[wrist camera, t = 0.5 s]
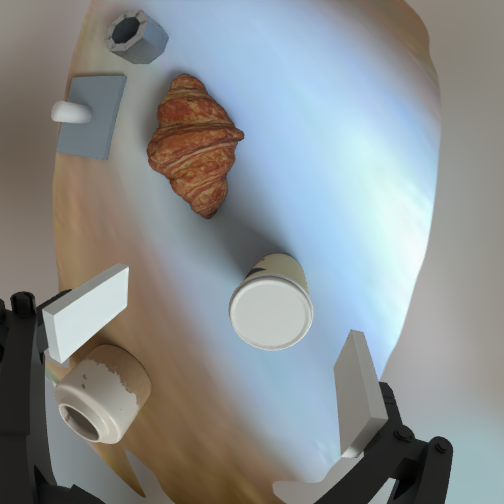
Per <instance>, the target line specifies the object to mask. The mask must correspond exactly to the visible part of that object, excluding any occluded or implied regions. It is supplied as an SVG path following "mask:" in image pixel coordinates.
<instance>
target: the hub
mask: <svg viewBox="0 0 504 504" xmlns="http://www.w3.org/2000/svg"><path fill="white" fill-rule="evenodd" d="M168 38H169V37H168V36H167V34H166V33H165V31H164V30H163V29H162V27H161V26H160V25H158V24H157V23H156V22H155V21H154V20H153V19H152V18H150V17H149V16H148V15H147V14H146V13H145V12H143V11H142V10H136V11H127V12H124V13H123V14H122V15H121V16H119V17H118V18H117V19H116V20H115V21H113V22H112V23H111V24H110V26H109V29H108V31H107V34H106V36H105V39H104V41H105V43H106V45H107V47H108V49H109V50H110V52H112V53H114V54H116V55H118V56H120V57H122V58H124V59H126V60H128V61H130V62H131V63H133V64H149V63H150V62H152V61H153V60H154V59H156V58H157V57H158V56H160V55H161V54H162V53H163V52H164V49H165V47H166V44H167V41H168Z"/></svg>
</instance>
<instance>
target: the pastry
mask: <svg viewBox="0 0 504 504" xmlns="http://www.w3.org/2000/svg"><path fill="white" fill-rule="evenodd" d="M157 118H158V121H159V128H158V129H156V131H155V133H154V134H153V137H152V139H151V141H150V143H149V144H148V148H147V154H148V158H149V159H148V162H149V165H150V166H151V167H152V169H153V170H155V171H156V172H159V173H161V174H162V175H165V177H166V178H167V179H169V180H170V184H171V186H172V189H173V191H174V192H175V193H177V194H178V195H179V196H182V198H183V199H184V200H185V201H186V202H188V203H189V204H190V206H191V208H192V210H194V212H196V213H198V214H200V215H201V216H202V217H204V218H206V219H210V218H212V215H214V214H215V213H216V211H217V208H218V207H219V206H220V204H221V203H222V202H223V201H224V199H225V197H226V195H227V192H228V188H227V179H226V175H227V172H229V170H230V169H231V167H232V165H233V164H234V162H235V155H234V150H235V148H236V145H237V144H238V141H241V140H242V139H244V133H243V132H242V131H241V130H239V129H237V128H235V126H234V123H233V122H232V121H231V120H230V118H229V117H228V115H227V112H226V111H225V110H224V108H223V107H222V106H220V105H219V104H217V103H216V101H215V100H214V99H213V98H212V97H211V96H209V95H208V93H207V91H206V89H205V86H204V84H203V83H202V82H201V81H200V80H198V79H197V78H195V77H193V76H190V75H187V74H181V75H179V76H178V77H177V78H175V79H174V80H173V81H172V82H171V85H170V90H169V91H168V92H167V94H165V96H164V98H163V101H162V102H161V103H160V105H159V107H158V112H157Z"/></svg>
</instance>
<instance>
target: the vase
mask: <svg viewBox="0 0 504 504" xmlns="http://www.w3.org/2000/svg"><path fill="white" fill-rule="evenodd" d="M150 393H151V381H150V378H149V376H148V374H147V372H146V370H145V369H144V367H143V366H142V365H141V364H140V363H139V361H138V360H137V359H135V358H134V357H133V356H132V355H131V354H129V353H128V352H126V351H125V350H123V349H121V348H119V347H117V346H113V345H108V344H104V345H100V346H97V347H96V348H95V349H93V350H92V351H91V352H90V353H89V354H88V355H87V356H86V357H85V358H84V359H83V360H82V361H80V362H79V363H78V364H77V365H76V366H75V367H74V368H73V369H72V370H71V371H70V372H69V373H68V374H67V375H66V376H65V377H64V378H63V379H62V380H61V381H60V382H59V383H58V384H57V385H56V387H55V398H56V401H57V403H58V405H59V406H58V409H59V413H60V415H61V417H62V418H63V420H64V421H65V422H66V424H67V425H68V426H69V427H70V428H71V429H72V430H73V431H75V432H76V433H77V434H79V435H80V436H81V437H83V438H85V439H87V440H89V441H92V442H103V443H107V444H113V443H117V442H118V441H119V440H120V439H121V438H122V437H123V435H124V434H125V432H126V431H127V429H128V428H129V426H130V425H131V423H132V422H133V420H134V419H135V417H136V416H137V414H138V412H139V411H140V409H141V408H142V406H143V405H144V403H145V402H146V400H147V399H148V397H149V395H150Z"/></svg>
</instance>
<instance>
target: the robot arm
mask: <svg viewBox="0 0 504 504" xmlns="http://www.w3.org/2000/svg"><path fill="white" fill-rule="evenodd" d="M128 271H129V266H126V265H123V264H120V263H117V264H116V265H114V266H112V267H110V268H109V269H107V270H105V271H104V272H102V273H100V274H98V275H97V276H95V277H93V278H92V279H90V280H88V281H87V282H85V283H83V284H82V285H80V286H78V287H77V288H75V289H73V290H72V289H69V290H66V291H62V292H61V293H59V294H57V295H56V296H54V297H52V298H51V299H50V300H47V301H46V302H44V303H43V304H41V305H39V306H38V307H36V305H35V297H34V295H33V294H32V293H30V292H24V291H23V292H18V293H15V294H13V295H12V296H11V298H10V300H11V305H12V311H10V310H7V309H5V304H4V301H3V300H2V299H0V504H105V503H104V502H103V501H101V500H100V499H99V498H97V497H95V496H93V495H92V494H90V493H88V492H86V491H85V490H83V489H81V488H80V487H78V486H76V485H75V484H73V486H72V487H71V489H70V488H67V487H63V486H57V482H56V480H55V478H54V475H53V472H52V467H51V461H50V453H49V445H48V437H47V425H46V411H45V355H44V351H45V350H46V349H47V348H49V352H50V357H51V358H53V359H55V360H56V361H58V362H59V363H63V362H64V361H65V360H66V359H67V358H68V357H69V356H70V355H72V354H73V353H74V352H75V351H76V350H77V349H78V348H79V347H81V346H82V345H83V344H84V343H85V342H86V341H87V340H88V339H90V338H91V337H92V336H93V335H94V334H95V333H96V332H98V331H99V330H100V329H101V328H102V327H103V326H104V325H106V324H107V323H108V322H109V321H110V320H111V319H113V318H114V317H115V316H116V315H117V314H118V313H120V312H121V311H122V310H123V309H124V308H125V307H127V289H128ZM334 376H335V385H336V395H337V406H338V418H339V431H340V446H341V457H351V458H357V457H358V456H359V455H360V454H361V453H362V451H363V452H364V457H363V458H362V459H361V460H360V461H359V462H358V463H357V464H356V465H355V466H354V467H353V468H352V470H350V471H349V472H348V473H347V474H346V475H345V476H344V477H343V478H342V479H341V480H340V481H339V482H338V483H337V484H336V485H335V486H333V488H331V489H330V490H329V491H328V492H327V493H326V494H325V495H323V496H322V497H321V498H320V499H319V500H318V501H316V502H315V503H314V504H368V503H369V502H370V500H371V499H372V498H373V497H374V496H375V494H376V493H377V492H378V491H379V490H380V488H381V487H382V486H383V485H384V483H385V482H386V481H387V480H388V478H389V477H390V478H393V479H396V481H395V484H394V487H393V489H392V492H391V494H390V497H389V499H388V502H387V504H444V503H445V499H446V494H447V489H448V484H449V478H450V471H451V465H452V457H453V447H452V445H451V443H450V442H449V441H448V440H447V439H445V438H443V437H440V436H437V437H434V438H433V439H431V440H430V441H429V442H425V441H421V440H418V439H416V438H415V436H414V433H413V432H412V430H411V429H410V428H408V427H407V426H405V425H403V424H402V420H401V417H400V413H399V410H398V407H397V405H396V400H395V399H394V398H395V397H394V394H393V391H392V389H391V388H390V387H389V385H388V384H387V383H384V382H378V379H377V375H376V372H375V368H374V365H373V362H372V358H371V355H370V352H369V349H368V345H367V342H366V339H365V336H364V333H363V332H360V331H356V330H350V333H349V335H348V337H347V340H346V342H345V344H344V346H343V348H342V351H341V353H340V355H339V357H338V359H337V361H336V363H335V365H334Z"/></svg>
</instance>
